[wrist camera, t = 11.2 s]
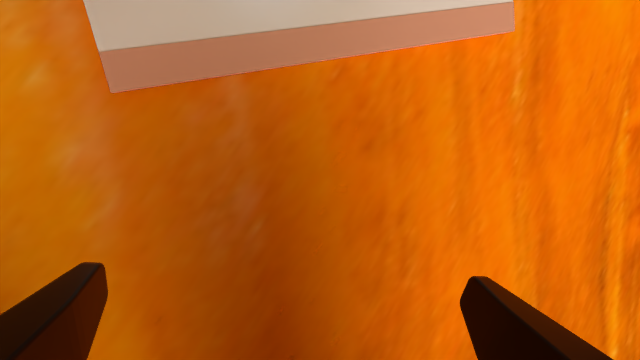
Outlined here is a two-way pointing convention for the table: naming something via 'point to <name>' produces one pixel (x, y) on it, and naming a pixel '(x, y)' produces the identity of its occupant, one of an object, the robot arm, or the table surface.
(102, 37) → the notepad
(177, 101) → the table surface
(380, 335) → the table surface
